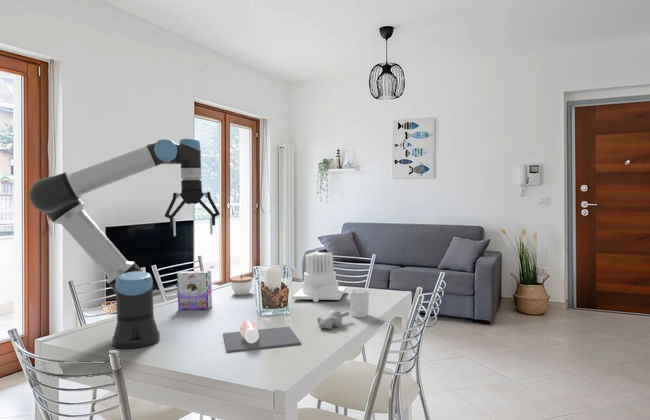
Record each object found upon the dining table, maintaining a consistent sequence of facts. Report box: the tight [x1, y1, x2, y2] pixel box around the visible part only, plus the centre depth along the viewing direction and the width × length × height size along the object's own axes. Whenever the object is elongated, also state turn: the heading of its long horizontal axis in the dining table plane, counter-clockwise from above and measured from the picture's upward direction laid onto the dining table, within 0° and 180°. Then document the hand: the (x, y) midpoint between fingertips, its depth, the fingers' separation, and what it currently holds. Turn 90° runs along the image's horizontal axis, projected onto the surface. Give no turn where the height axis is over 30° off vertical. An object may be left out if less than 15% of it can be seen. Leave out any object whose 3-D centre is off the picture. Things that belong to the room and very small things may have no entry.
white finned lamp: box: [292, 251, 347, 303], centre depth 226 cm, size 25×22×21 cm
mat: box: [222, 326, 302, 354], centre depth 162 cm, size 20×24×1 cm
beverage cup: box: [239, 319, 259, 343], centre depth 160 cm, size 6×6×14 cm
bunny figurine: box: [316, 309, 351, 330], centre depth 177 cm, size 10×5×15 cm
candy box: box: [176, 270, 213, 311], centre depth 209 cm, size 14×6×16 cm, turn 84°
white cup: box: [349, 288, 370, 319], centre depth 190 cm, size 8×8×10 cm
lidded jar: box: [230, 274, 253, 296], centre depth 238 cm, size 11×11×9 cm
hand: (193, 235), depth 181 cm, fingers open, 13 cm apart
